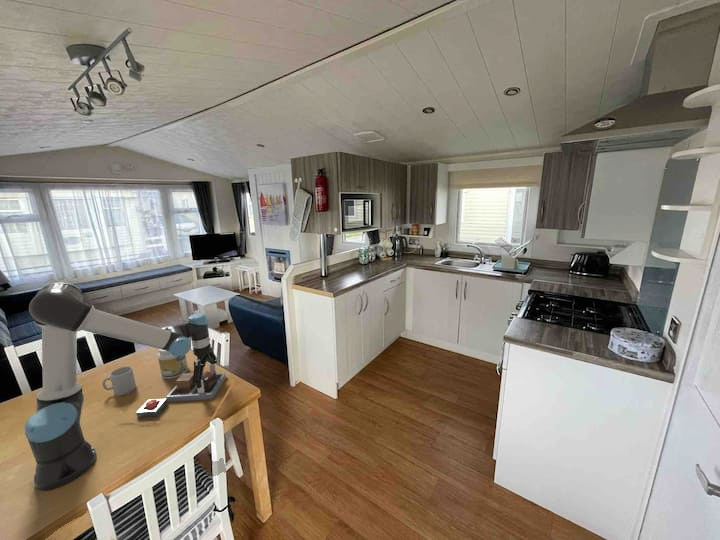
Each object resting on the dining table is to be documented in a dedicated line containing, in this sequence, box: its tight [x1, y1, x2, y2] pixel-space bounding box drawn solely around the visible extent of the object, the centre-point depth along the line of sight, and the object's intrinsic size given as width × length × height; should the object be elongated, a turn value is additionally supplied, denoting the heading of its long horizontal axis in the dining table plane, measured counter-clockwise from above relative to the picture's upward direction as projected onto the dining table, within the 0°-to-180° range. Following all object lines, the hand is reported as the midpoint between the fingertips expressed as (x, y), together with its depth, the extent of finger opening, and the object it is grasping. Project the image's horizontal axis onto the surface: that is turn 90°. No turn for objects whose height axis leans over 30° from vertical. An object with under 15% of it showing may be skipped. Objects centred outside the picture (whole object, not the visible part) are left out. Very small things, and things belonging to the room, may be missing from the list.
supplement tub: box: [157, 349, 189, 380], centre depth 151 cm, size 12×12×17 cm
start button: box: [145, 398, 158, 409], centre depth 123 cm, size 4×4×4 cm
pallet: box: [165, 372, 227, 403], centre depth 138 cm, size 17×21×4 cm
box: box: [202, 371, 217, 392], centre depth 138 cm, size 6×6×7 cm
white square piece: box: [135, 398, 168, 419], centre depth 124 cm, size 8×8×4 cm
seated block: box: [175, 372, 196, 394], centre depth 137 cm, size 6×6×7 cm
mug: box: [101, 366, 137, 397], centre depth 137 cm, size 12×8×11 cm
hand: (207, 383), depth 138 cm, fingers open, 13 cm apart
